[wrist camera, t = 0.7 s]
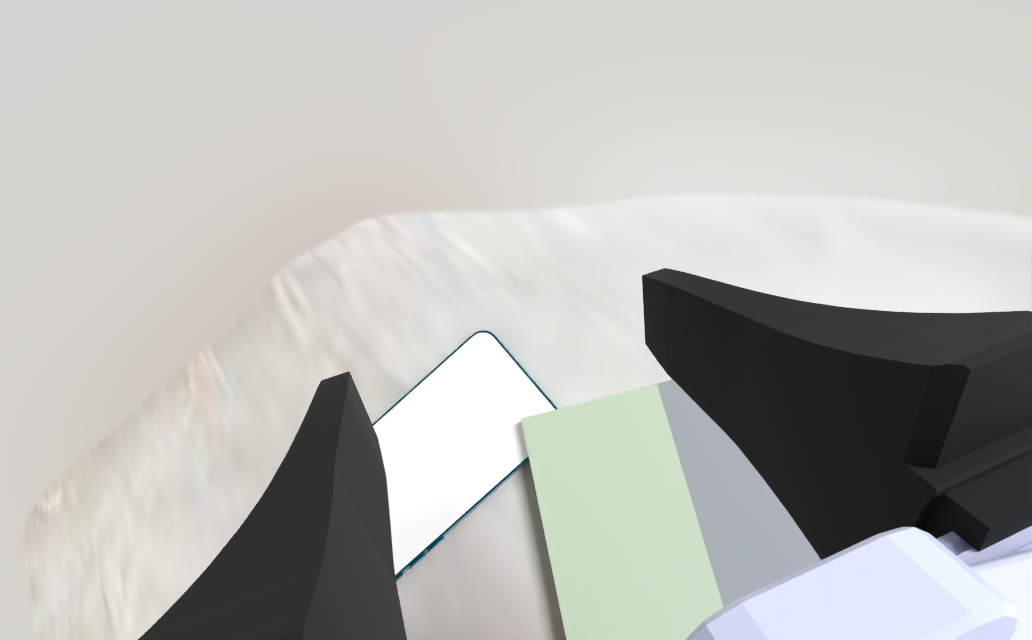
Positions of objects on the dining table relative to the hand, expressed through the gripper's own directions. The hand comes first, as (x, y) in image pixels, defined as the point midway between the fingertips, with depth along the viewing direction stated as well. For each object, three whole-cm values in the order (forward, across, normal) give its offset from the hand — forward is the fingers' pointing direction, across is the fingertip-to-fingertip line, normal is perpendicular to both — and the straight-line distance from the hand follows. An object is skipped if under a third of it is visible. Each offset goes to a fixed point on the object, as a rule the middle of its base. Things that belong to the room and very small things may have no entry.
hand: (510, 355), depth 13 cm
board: (+5, -8, +16) cm, 19 cm away
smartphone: (+14, +4, +16) cm, 21 cm away
